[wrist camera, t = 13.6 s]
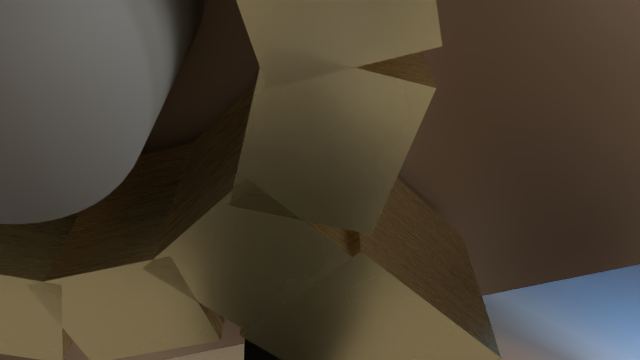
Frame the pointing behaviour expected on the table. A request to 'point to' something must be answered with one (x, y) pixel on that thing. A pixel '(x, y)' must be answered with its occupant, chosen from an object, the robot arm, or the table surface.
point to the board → (423, 156)
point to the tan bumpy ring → (268, 216)
